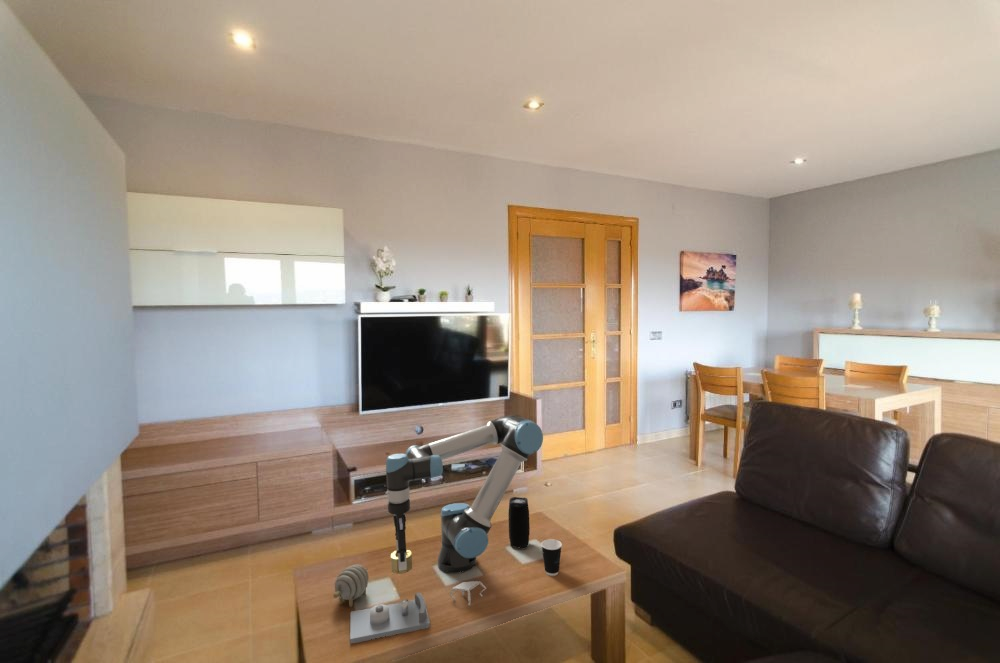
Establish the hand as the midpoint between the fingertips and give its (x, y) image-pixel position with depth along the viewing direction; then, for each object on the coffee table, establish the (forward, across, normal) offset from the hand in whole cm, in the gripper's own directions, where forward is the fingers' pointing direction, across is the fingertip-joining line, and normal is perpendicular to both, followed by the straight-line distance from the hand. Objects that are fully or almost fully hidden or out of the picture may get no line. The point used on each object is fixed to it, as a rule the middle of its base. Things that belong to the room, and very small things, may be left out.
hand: (401, 563), depth 170 cm
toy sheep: (+12, -4, -18) cm, 21 cm away
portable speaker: (+13, -22, +50) cm, 56 cm away
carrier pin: (+10, +13, 0) cm, 17 cm away
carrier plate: (+11, +13, -6) cm, 18 cm away
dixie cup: (+13, +2, +55) cm, 57 cm away
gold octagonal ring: (+2, 0, 0) cm, 2 cm away
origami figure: (+12, +9, +22) cm, 27 cm away
